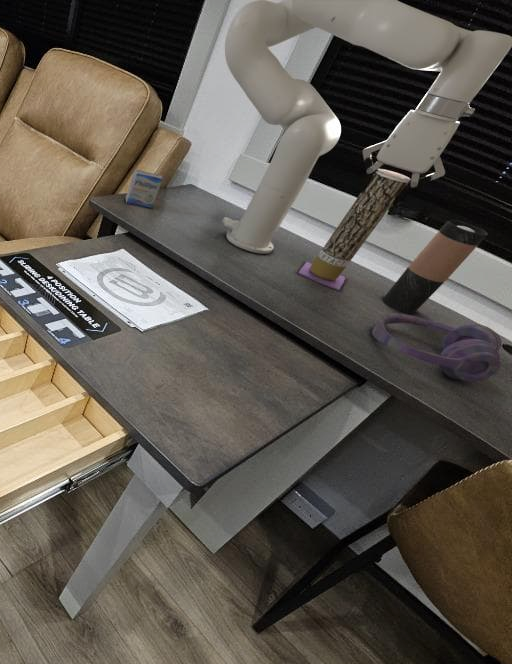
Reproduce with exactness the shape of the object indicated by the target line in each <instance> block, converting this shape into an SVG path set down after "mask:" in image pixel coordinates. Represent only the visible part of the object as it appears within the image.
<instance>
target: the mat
mask: <svg viewBox="0 0 512 664" xmlns="http://www.w3.org/2000/svg"><path fill="white" fill-rule="evenodd" d="M312 264H313V263H311V262H309V261H306V262H305V263H304V264H303V265H302V267H301V269H299V271H298V273H297V275H300V276H302V277H305V278H307V279H309V280H311V281H313V282H316V283H318V284H321V285H324V286H326V287H328V288H330V289H333V290H335V291H338V292H340V290H341V288H342V286H343V284H344V282H345V280H346V277H345V276H343V275H341V274H340V275H339V277H338V278H337V279H335V280H325V279H322V278H320V277H318V276H316V275H314V274H313V273H312V272H311V271H310V267H311V265H312Z"/></svg>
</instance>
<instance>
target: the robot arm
mask: <svg viewBox="0 0 512 664" xmlns="http://www.w3.org/2000/svg"><path fill="white" fill-rule="evenodd" d="M315 28H317V29H320V30H322V31H324V32H326V33H328V34H330V35H333V36H335V37H337V38H339V39H342V40H343V41H345V42H348V43H349V44H352V45H353V46H358V47H363V48H365V49H367V50H370V51H372V52H374V53H376V54H378V55H380V56H383V57H384V58H387V59H389V60H391V61H394V62H396V63H398V64H400V65H401V66H404V67H406V68H409V69H412V70H418V71H430V72H431V71H432V72H440V73H439V74H438V75H437V77H436V79H435V80H434V82H433V83H432V85H431V86H430V88H429V89H428V91H427V92H426V94H425V95H424V96H423V98H422V99H421V101H420V102H419V104H418V105H417V107H416V108H415V110H414V109H410V110H409V111H408V112H407V114H406V115H404V117H403V118H402V119H401V121H400V122H399V123H398V124H397V125H396V126H395V128H394V129H393V131H392V132H391V134H390V135H389V136H388V138H387V139H386V140H384V141H382V142H379V143H376V144H374V145H370V146H368V147H365V148H364V149H363V150H362V157H363V163H364V167H365V171H366V173H365V175H364V176H363V178H362V179H361V180H360V182H359V184H358V185H357V187H358V188H359V189H358V191H357V192H358V193H359V194H360V193H361V192H362V191H363V190H364V188H365V187H366V185H367V184H368V182H369V181H370V179H371V178H372V176H373V174H374V173H375V171H377V169H380V168H381V167H382V166H384V165H387V166H391V167H394V168H396V169H397V168H398V169H401V170H405V171H408V172H411V173H412V174H411V178H410V179H411V180H410V181H409V183H408V184H407V185H406V186H405V188H404V189H403V190H402V192H401V193H400V195H399V196H398V197H397V199H396V200H395V201H394V203H393V205H396V206H398V204H399V202H404V201H405V200H406V198H407V197H408V196H409V195H410V193H411V192H412V191H413V189H414V188H416V187H417V186H421V185H423V184H427V183H429V182H431V181H434V180H437V179H439V178H441V177H444V176H445V174H446V170H445V168H444V165H443V164H444V163H443V162H442V159H441V155H442V153H443V152H444V150H445V148H446V147H447V145H448V144H449V143H450V141H451V139H452V138H453V136H454V135H455V133H456V131H457V129H458V127H459V126H460V124H461V122H460V121H458V120H459V119H460V118H462V117H469V118H470V117H471V116H472V115H473V114H474V112H476V109H475V108H472V107H470V104H471V102H472V101H473V100H474V98H475V97H476V96H477V94H478V93H479V91H481V89H482V88H483V87H484V85H485V84H486V82H487V81H488V80H489V78H490V77H491V76H492V74H493V73H494V71H496V69H497V68H498V66H499V65H500V64H501V63H502V61H503V60H504V58H505V57H506V55H507V54H508V53H509V51H510V50H511V48H512V36H511V35H509V34H505V33H500V32H495V31H491V30H490V31H489V30H483V29H482V30H480V29H479V30H469V29H466V28H463V27H459V26H458V25H455V24H454V23H452V22H451V21H448V20H445V19H443V18H440V17H439V16H436V15H433V14H431V13H429V12H426V11H423V10H422V9H418V8H416V7H414V6H411V5H408V4H406V3H403V2H401V1H399V0H280V1H278V2H274V1H270V0H253V1H250V2H248V3H246V4H245V5H243V6H242V7H241V8H240V9H239V10H238V11H237V12H236V14H235V15H234V17H233V18H232V20H231V22H230V24H229V27H228V30H227V33H226V37H225V43H224V56H225V62H226V65H227V68H228V69H229V72H230V73H231V75H232V77H233V79H234V80H235V81H236V83H237V84H238V85H239V86H240V88H241V90H243V92H244V94H245V96H246V97H247V98H248V100H249V101H250V102H251V104H252V105H253V106H254V108H255V109H256V110H257V113H258V114H259V115H260V116H261V118H262V120H263V121H264V122H265V123H267V124H269V125H272V126H279V125H280V127H281V128H282V129H283V131H284V133H283V134H282V136H281V137H280V139H279V142H278V143H277V146H276V148H275V151H274V153H273V155H272V158H271V160H270V163H269V165H268V167H267V169H266V171H265V172H264V175H263V176H262V179H260V180H261V181H260V183H259V185H258V186H257V188H256V190H255V192H254V194H253V196H252V198H251V200H250V202H249V204H248V206H247V208H246V210H245V211H244V213H243V215H242V217H241V219H240V220H238V219H236V220H234V219H232V218H230V217H227V216H224V217H223V219H222V221H221V225H222V226H223V227H224V228H228V229H230V230H228V231H227V232H226V236H225V237H226V239H227V241H228V242H230V243H231V244H232V245H234V246H236V247H238V248H240V249H242V250H245V251H248V252H251V253H253V254H254V253H255V254H260V255H267V254H270V253H272V252H273V250H274V248H275V247H274V244H273V243H272V240H273V238H274V237H275V235H276V233H277V231H278V230H279V228H280V227H281V225H282V223H283V221H284V220H285V218H286V216H287V215H288V213H289V211H290V209H291V208H292V206H293V205H294V203H295V201H296V200H297V197H298V196H299V194H300V192H301V191H302V190H303V187H304V186H305V184H306V182H307V180H308V179H309V177H310V175H311V173H312V171H313V168H314V166H315V165H316V163H317V161H318V159H319V158H320V157H321V156H323V155H325V154H327V153H328V152H330V151H331V150H332V149H333V148H334V147H335V146H336V145H337V144H338V142H339V139H340V137H341V133H342V126H341V123H340V120H339V118H338V117H337V115H335V113H334V112H333V110H332V109H331V108H330V106H329V105H328V104H327V103H326V101H325V100H324V98H323V97H322V96H321V94H320V93H319V92H318V91H317V90H316V88H315V87H314V86H313V85H312V84H311V83H310V82H308V81H307V80H304V79H299V78H294V77H292V75H290V74H289V72H288V71H287V70H286V69H285V67H284V66H283V64H282V63H281V62H280V60H279V59H278V58H277V56H276V55H275V54H274V53H273V52H272V51H271V50H270V47H273V46H276V45H279V44H281V43H283V42H286V41H288V40H290V39H293V38H295V37H297V36H299V35H302V34H304V33H307V32H308V31H310V30H313V29H315ZM377 151H378V153H377V154H376V159H377V161H375V162H373V158H372V154H373V152H377ZM432 167H433V168H434V172H432V173H430V174H426V175H424V176H422V177H420V175H421V174H425V173H427V172H428V171H429V170H430V169H431V168H432Z"/></svg>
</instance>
